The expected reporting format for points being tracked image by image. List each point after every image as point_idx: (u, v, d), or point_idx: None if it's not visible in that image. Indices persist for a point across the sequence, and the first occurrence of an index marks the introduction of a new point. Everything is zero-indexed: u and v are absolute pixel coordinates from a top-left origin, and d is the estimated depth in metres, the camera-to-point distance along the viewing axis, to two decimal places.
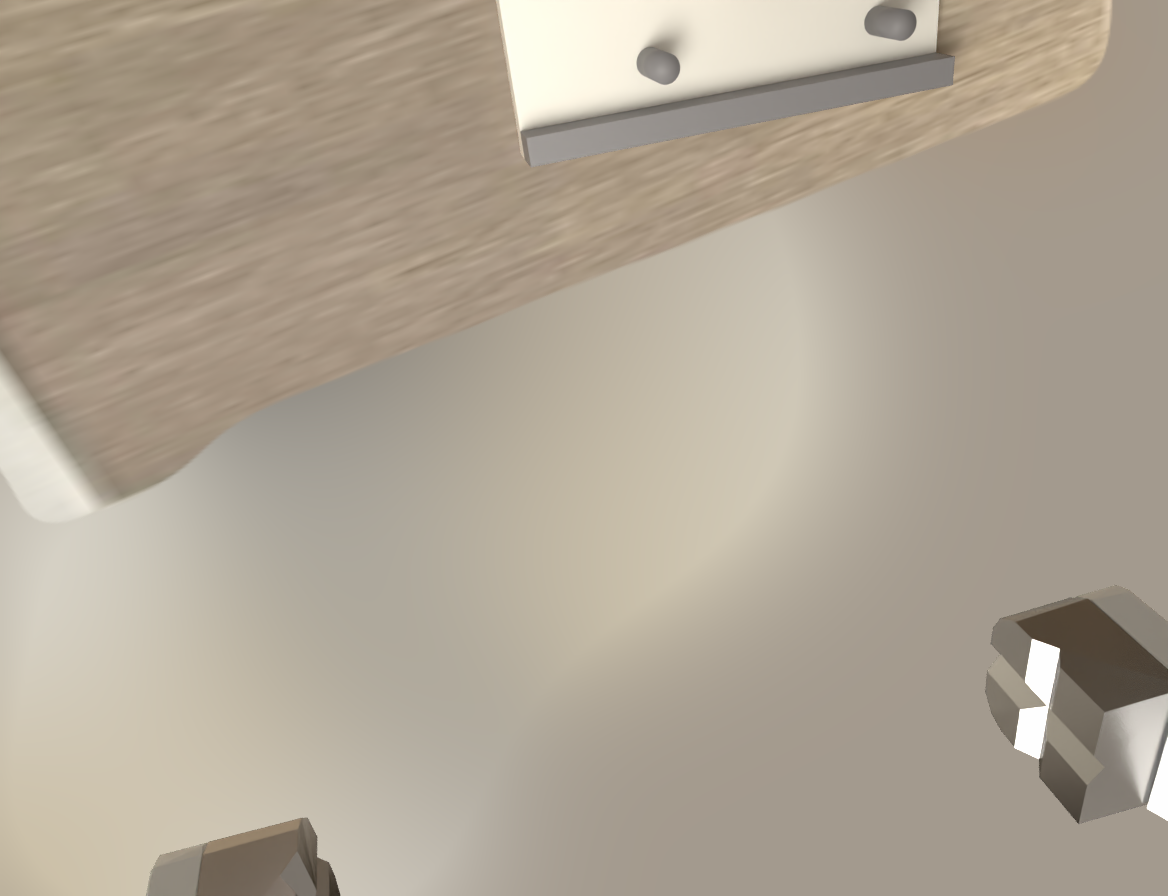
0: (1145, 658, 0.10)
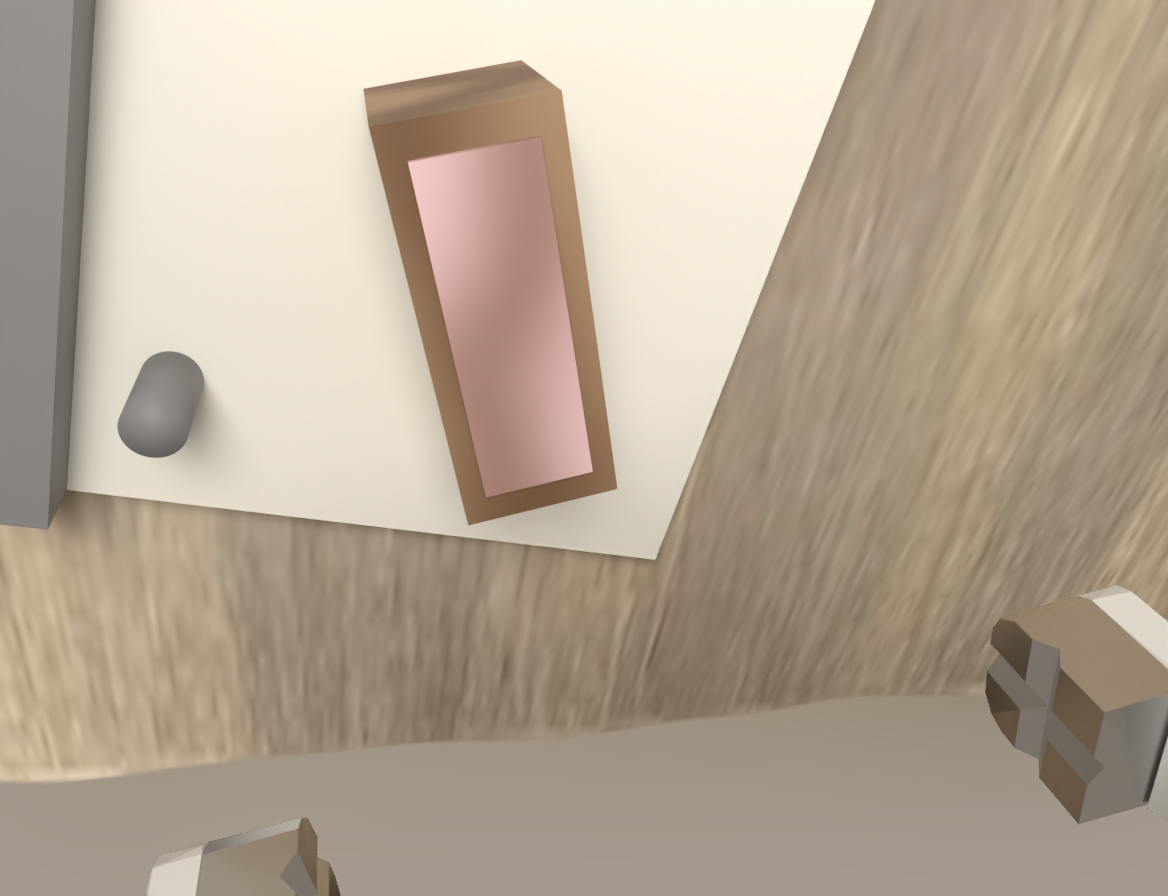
0: (1145, 658, 0.10)
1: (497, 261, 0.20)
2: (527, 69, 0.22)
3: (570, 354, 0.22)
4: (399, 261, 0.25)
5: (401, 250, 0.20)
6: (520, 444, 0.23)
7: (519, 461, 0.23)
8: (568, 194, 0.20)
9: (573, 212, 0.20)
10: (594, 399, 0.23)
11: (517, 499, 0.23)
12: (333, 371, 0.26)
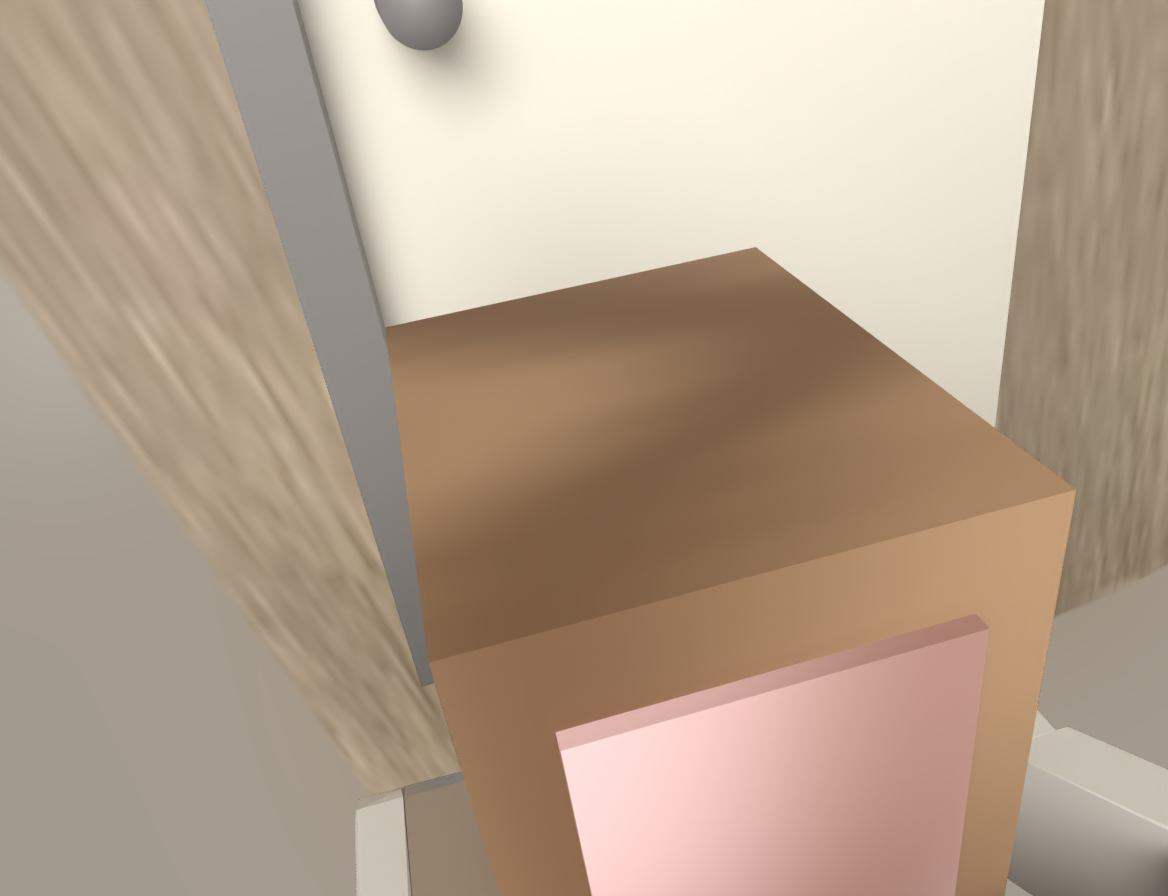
0: None
1: None
2: (810, 300, 0.08)
3: None
4: None
5: None
6: None
7: None
8: (1011, 736, 0.07)
9: (1014, 773, 0.07)
10: None
11: None
12: None
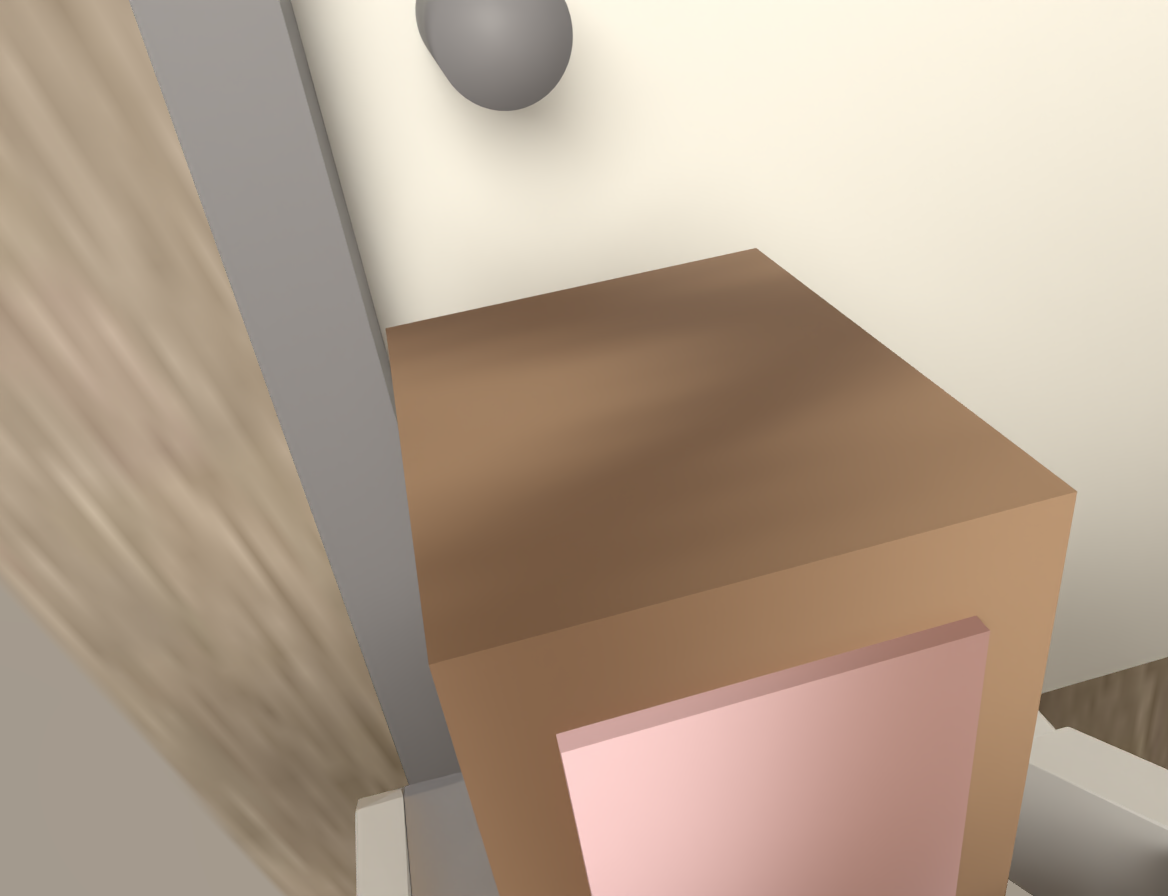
0: None
1: None
2: (810, 301, 0.08)
3: None
4: None
5: None
6: None
7: None
8: (1013, 737, 0.07)
9: (1014, 774, 0.07)
10: None
11: None
12: None
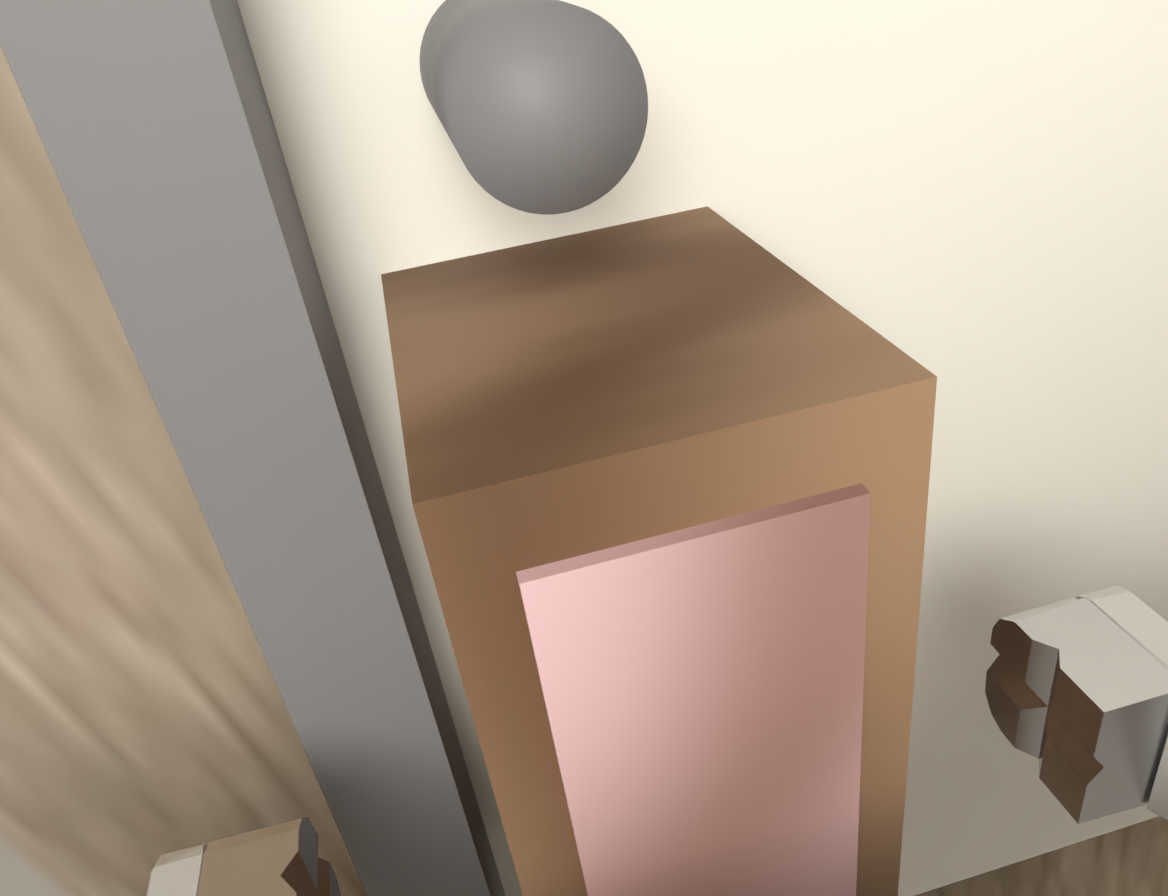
0: (1145, 658, 0.10)
1: (719, 753, 0.08)
2: (748, 246, 0.10)
3: (846, 882, 0.10)
4: None
5: (487, 752, 0.08)
6: None
7: None
8: (901, 597, 0.08)
9: (906, 632, 0.08)
10: None
11: None
12: None
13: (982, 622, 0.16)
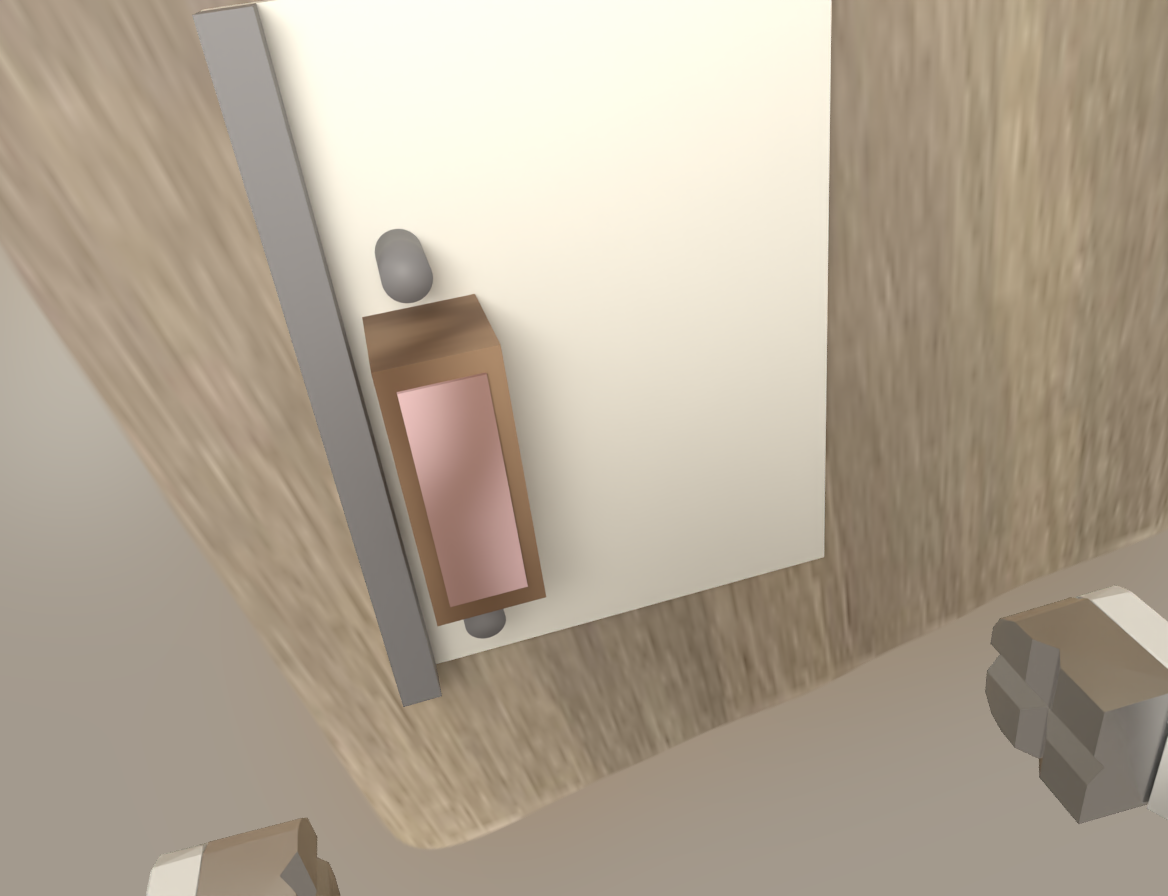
0: (1145, 658, 0.10)
1: (457, 451, 0.29)
2: (478, 309, 0.31)
3: (509, 508, 0.31)
4: (582, 453, 0.37)
5: (391, 446, 0.29)
6: (475, 570, 0.32)
7: (474, 581, 0.32)
8: (506, 406, 0.29)
9: (510, 417, 0.29)
10: (528, 537, 0.32)
11: (473, 606, 0.32)
12: (566, 533, 0.38)
13: (620, 463, 0.37)
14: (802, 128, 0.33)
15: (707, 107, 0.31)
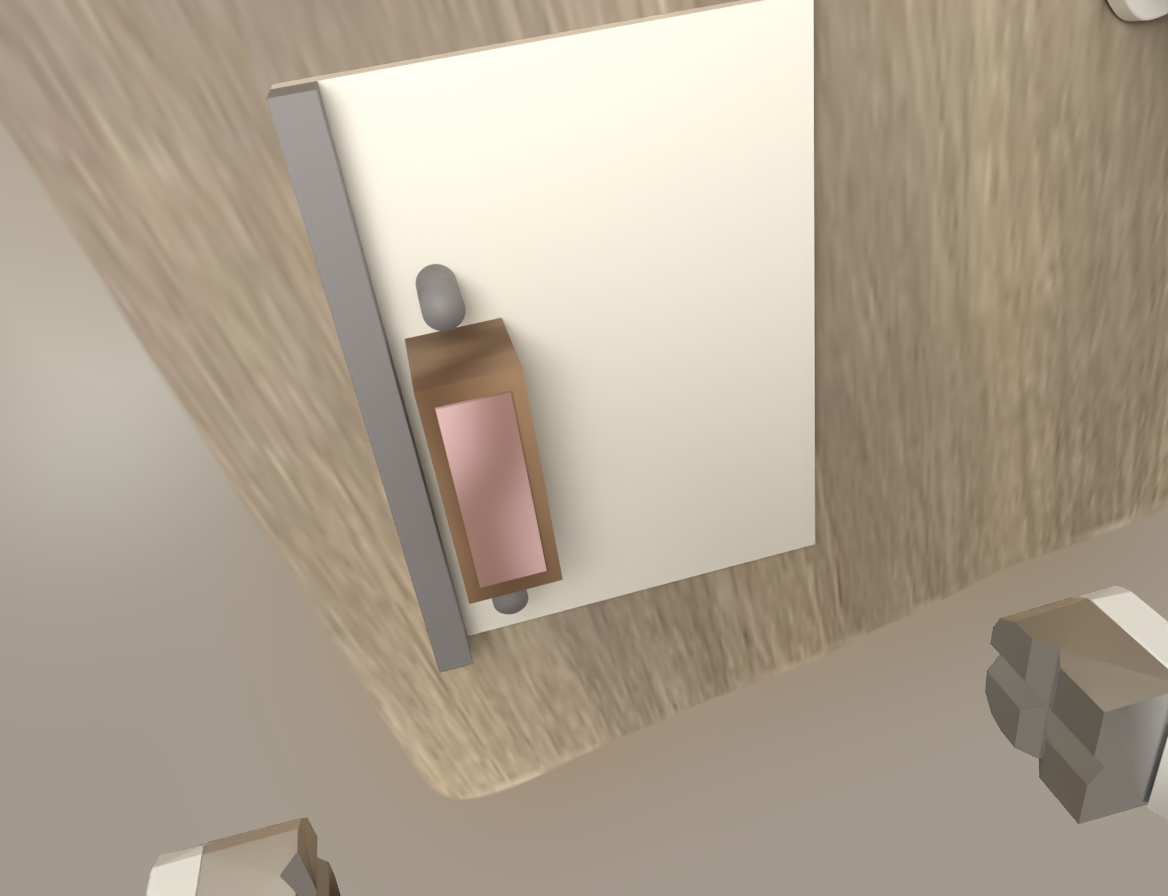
0: (1145, 658, 0.10)
1: (486, 457, 0.34)
2: (504, 332, 0.36)
3: (531, 504, 0.36)
4: (595, 453, 0.42)
5: (430, 453, 0.34)
6: (501, 556, 0.37)
7: (500, 566, 0.37)
8: (527, 419, 0.34)
9: (531, 428, 0.34)
10: (546, 528, 0.37)
11: (499, 587, 0.38)
12: (581, 522, 0.43)
13: (630, 462, 0.42)
14: (789, 170, 0.37)
15: (704, 155, 0.36)
